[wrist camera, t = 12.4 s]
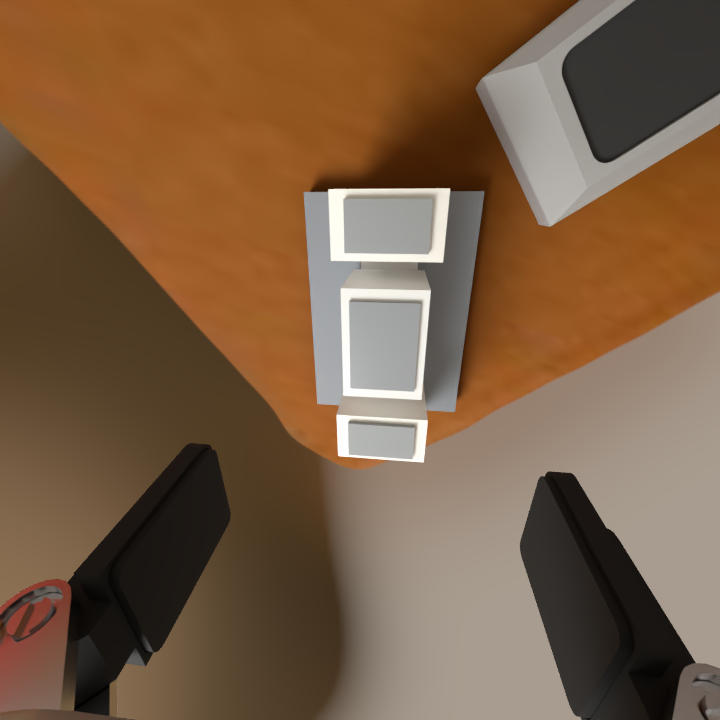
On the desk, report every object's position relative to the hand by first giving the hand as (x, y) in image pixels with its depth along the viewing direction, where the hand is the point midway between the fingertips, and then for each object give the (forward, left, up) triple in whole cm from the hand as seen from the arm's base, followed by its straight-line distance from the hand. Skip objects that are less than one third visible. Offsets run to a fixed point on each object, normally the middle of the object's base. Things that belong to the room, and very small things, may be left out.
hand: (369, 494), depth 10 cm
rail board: (0, 0, -20) cm, 20 cm away
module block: (0, 0, -18) cm, 18 cm away
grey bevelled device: (-14, -14, -20) cm, 28 cm away
